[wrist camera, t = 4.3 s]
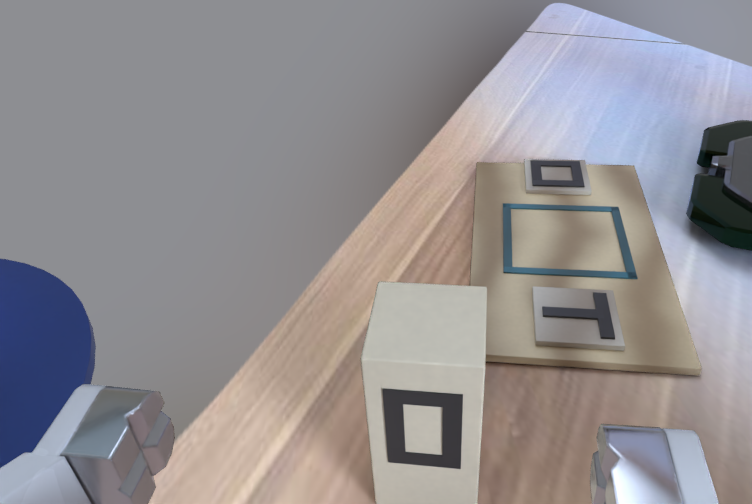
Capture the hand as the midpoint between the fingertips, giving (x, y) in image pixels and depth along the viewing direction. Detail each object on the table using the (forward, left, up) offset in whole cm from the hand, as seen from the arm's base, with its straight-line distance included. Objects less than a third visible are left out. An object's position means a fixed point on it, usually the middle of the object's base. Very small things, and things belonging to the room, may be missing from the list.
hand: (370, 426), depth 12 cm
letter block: (0, +12, -18) cm, 22 cm away
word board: (+8, +31, -18) cm, 37 cm away
